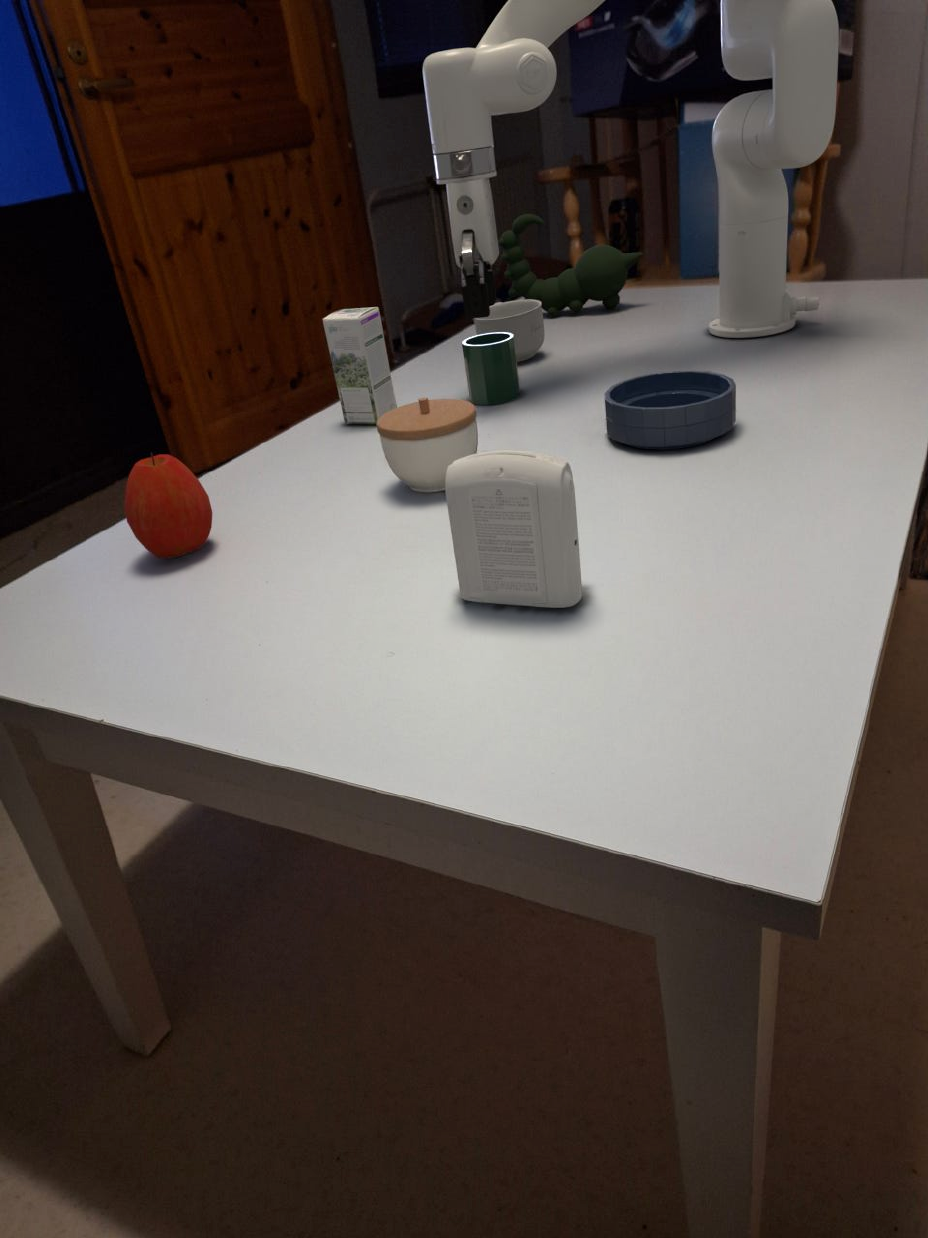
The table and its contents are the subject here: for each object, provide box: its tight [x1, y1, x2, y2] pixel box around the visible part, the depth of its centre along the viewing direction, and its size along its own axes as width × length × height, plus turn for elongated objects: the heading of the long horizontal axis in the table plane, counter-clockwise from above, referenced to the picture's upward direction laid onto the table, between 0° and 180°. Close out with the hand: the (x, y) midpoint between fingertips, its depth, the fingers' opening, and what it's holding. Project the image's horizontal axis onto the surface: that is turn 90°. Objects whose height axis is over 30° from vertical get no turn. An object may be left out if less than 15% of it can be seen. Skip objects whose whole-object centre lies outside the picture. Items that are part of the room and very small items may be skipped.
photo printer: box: [444, 449, 583, 609], centre depth 70 cm, size 10×4×12 cm, turn 69°
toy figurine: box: [498, 213, 644, 318], centre depth 162 cm, size 9×19×25 cm
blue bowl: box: [603, 369, 737, 450], centre depth 101 cm, size 14×14×5 cm
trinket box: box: [375, 396, 479, 494], centre depth 97 cm, size 11×11×9 cm
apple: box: [123, 452, 213, 560], centre depth 90 cm, size 8×8×11 cm
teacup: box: [472, 298, 545, 363], centre depth 142 cm, size 14×11×8 cm
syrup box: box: [322, 306, 398, 425], centre depth 121 cm, size 6×6×14 cm
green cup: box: [461, 332, 521, 406], centre depth 123 cm, size 7×7×8 cm
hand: (481, 309), depth 119 cm, fingers open, 9 cm apart
